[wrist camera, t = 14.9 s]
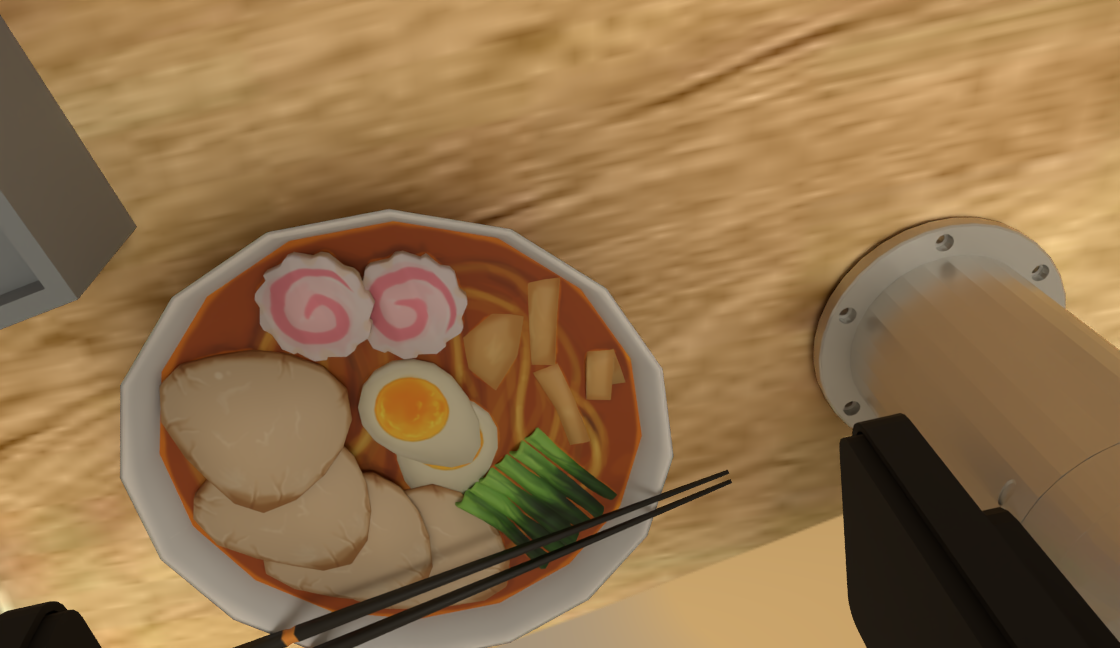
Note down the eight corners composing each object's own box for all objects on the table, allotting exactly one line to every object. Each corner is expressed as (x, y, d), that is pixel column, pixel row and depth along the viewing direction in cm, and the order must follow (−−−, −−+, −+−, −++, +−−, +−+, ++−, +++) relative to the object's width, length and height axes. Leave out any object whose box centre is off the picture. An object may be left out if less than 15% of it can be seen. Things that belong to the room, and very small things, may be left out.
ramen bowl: (568, 55, 38) (595, 105, 31) (718, 459, 49) (763, 566, 42) (40, 274, 40) (-51, 369, 33) (295, 615, 51) (269, 743, 44)
